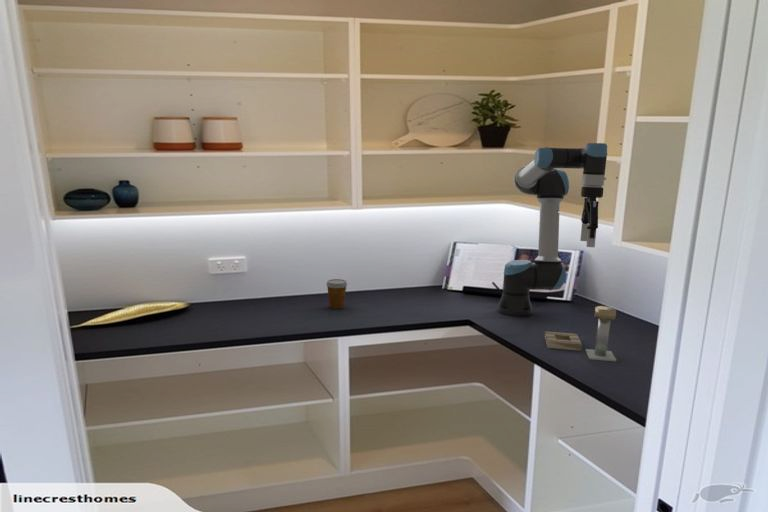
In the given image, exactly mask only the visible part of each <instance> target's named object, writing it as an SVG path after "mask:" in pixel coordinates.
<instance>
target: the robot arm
mask: <svg viewBox="0 0 768 512" xmlns="http://www.w3.org/2000/svg"><path fill="white" fill-rule="evenodd" d="M533 157H534V158H533V160H532V161H531V162H530V163H528V164H527V165H526V166H522V167H520V168H518V170H517V171H515V173H514V176H513V183H514V186H515V187H516V188H517V190H518V191H519V192H521V193H523V194H524V195H528V196H529V195H530V196H536V200H537V201H538V202H539V222H538V224H539V225H538V248H537V249H538V250H537V254H538V256H537V257H535V259H534V263H533V262H532V261H531V260H529V259H515V260H510V261H507V263H505V265H504V270H503V283H502V284H503V285H502V295H501V298H500V300H499V302H498V305H497V311H498V312H499V313H501V314H503V315H506V316H512V317H527V316H529V315H531V314H532V313H533V307H532V302H531V299H530V290H531V291H532V290H536V291H539V290H541V291H542V290H543V291H546V290H547V291H553V290H554V291H555V290H559V289H561V288H562V287H563V286H564V283H565V281H566V277H567V276H566V275H567V274H566V273H567V270H566V265H564V264H563V263H562V260H561V258H559V237H560V235H559V234H560V232H559V231H560V213H558V212H559V211H560V210H561V209H560V207H561V203H562V202H563V200H564V199H565V198H564V197H566V196H567V195H568V193H569V190H570V180H569V176H568V174H567V172H566V171H565V170H563V169H576V170H577V169H580V170H582V177H581V178H582V179H581V189H580V191H581V192H580V196H581V198H582V197H583V198H584V203H583V209H582V214H581V219H580V222H581V230H580V240H579V241H580V242H586V248H595V247H596V238H597V229H598V228H599V203H600V202H599V201H598V200H597V199H601V198H603V196H604V189H605V188H604V187H603V186H605V181H606V180H607V177H605V176H606V174H605V173H606V165H607V158H608V145H607V144H606V143H604V142H603V143H602V142H588V143H587V142H586V144H585V147H579V148H577V147H576V148H575V147H570V148H569V147H567V148H566V147H548V146H547V147H546V146H545V147H538V148H537V149H536V150H535V152H534V156H533Z"/></svg>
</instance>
